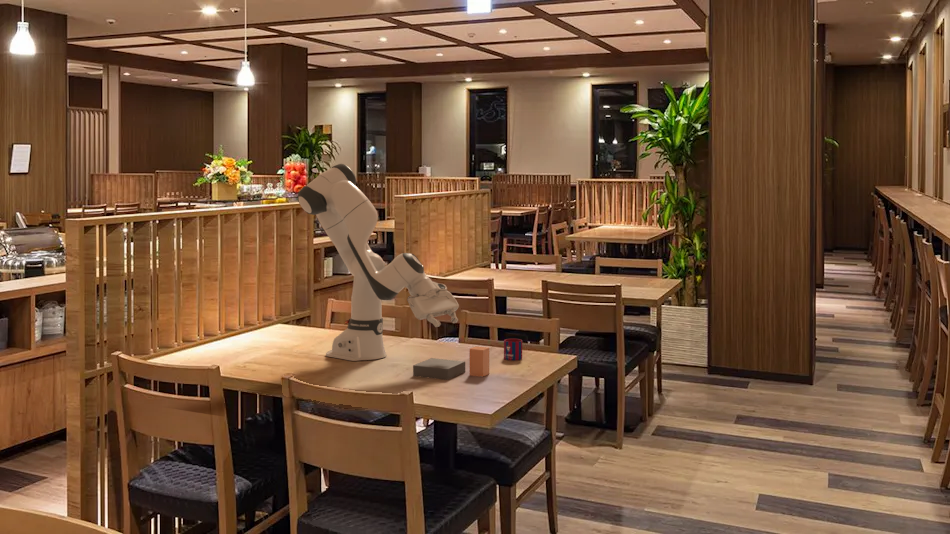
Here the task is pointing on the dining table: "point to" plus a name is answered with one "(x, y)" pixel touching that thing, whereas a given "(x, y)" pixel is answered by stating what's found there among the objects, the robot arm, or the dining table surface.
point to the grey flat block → (439, 368)
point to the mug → (513, 349)
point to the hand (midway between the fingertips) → (447, 323)
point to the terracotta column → (479, 361)
